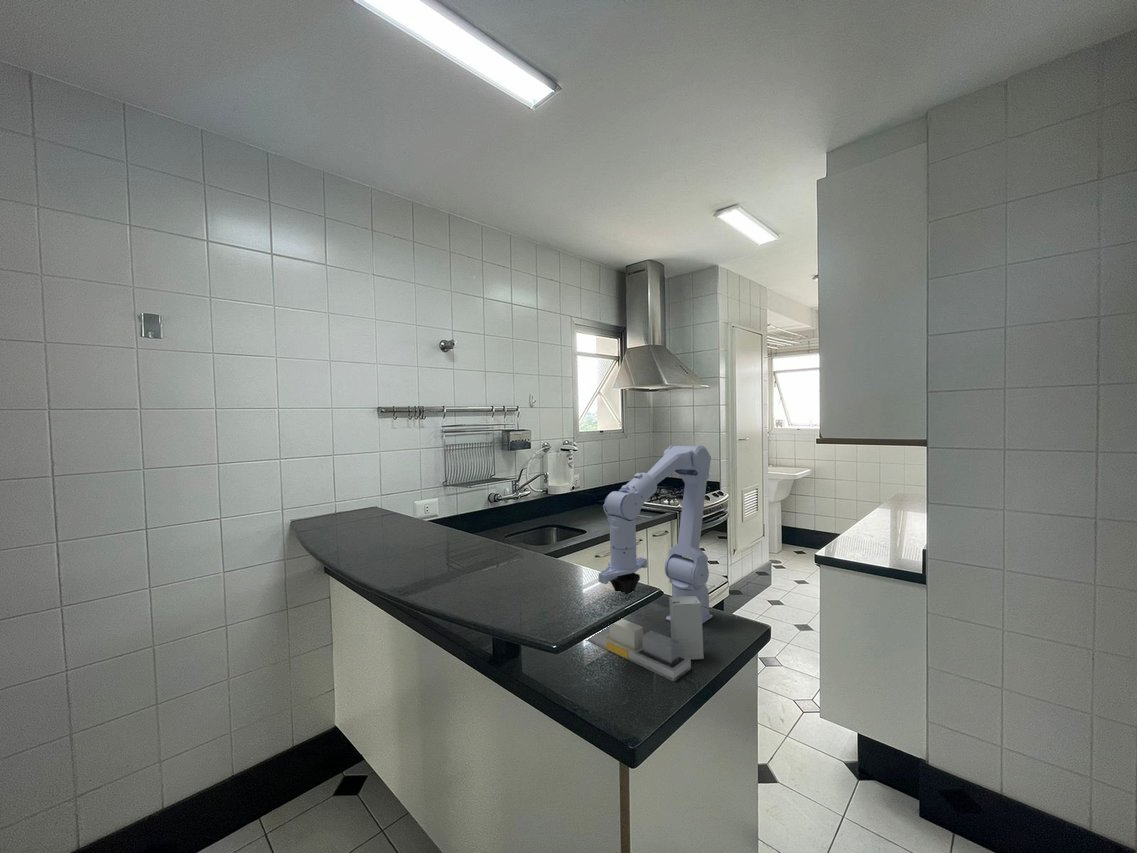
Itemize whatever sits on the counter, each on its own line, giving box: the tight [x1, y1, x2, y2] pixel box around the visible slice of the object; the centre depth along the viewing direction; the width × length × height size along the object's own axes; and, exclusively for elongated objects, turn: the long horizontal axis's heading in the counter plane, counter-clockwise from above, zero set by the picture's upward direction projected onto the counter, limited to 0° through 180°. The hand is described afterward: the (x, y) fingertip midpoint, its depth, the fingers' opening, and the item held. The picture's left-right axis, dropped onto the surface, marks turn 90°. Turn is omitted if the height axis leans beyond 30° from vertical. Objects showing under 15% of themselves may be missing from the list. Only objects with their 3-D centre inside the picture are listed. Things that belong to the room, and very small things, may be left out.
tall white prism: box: [610, 618, 644, 651], centre depth 97 cm, size 3×7×5 cm, turn 43°
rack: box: [586, 626, 692, 682], centre depth 97 cm, size 6×29×6 cm, turn 43°
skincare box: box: [668, 596, 705, 660], centre depth 93 cm, size 6×4×12 cm
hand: (625, 607), depth 97 cm, fingers closed
